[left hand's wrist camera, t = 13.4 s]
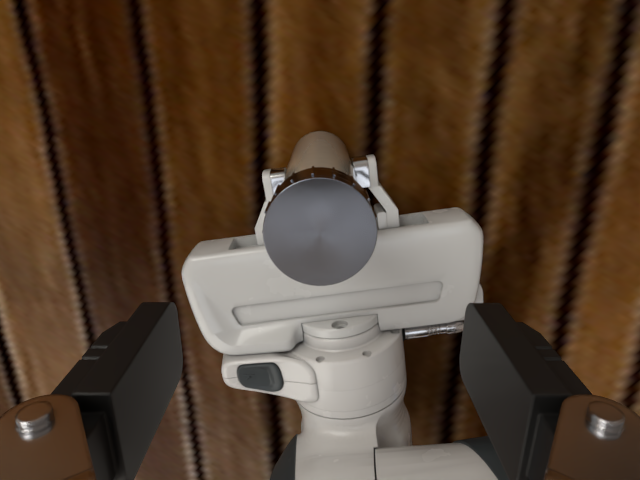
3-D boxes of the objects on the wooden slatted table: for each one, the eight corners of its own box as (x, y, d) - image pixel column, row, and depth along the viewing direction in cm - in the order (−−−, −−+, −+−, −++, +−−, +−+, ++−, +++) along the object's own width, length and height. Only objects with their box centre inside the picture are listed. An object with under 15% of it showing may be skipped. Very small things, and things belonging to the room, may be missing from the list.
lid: (362, 154, 20) (367, 163, 18) (382, 255, 22) (388, 275, 20) (254, 178, 20) (247, 190, 18) (282, 276, 22) (278, 297, 20)
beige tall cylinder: (342, 125, 35) (361, 169, 19) (353, 181, 36) (380, 267, 20) (285, 138, 35) (256, 192, 19) (299, 193, 36) (282, 286, 20)
